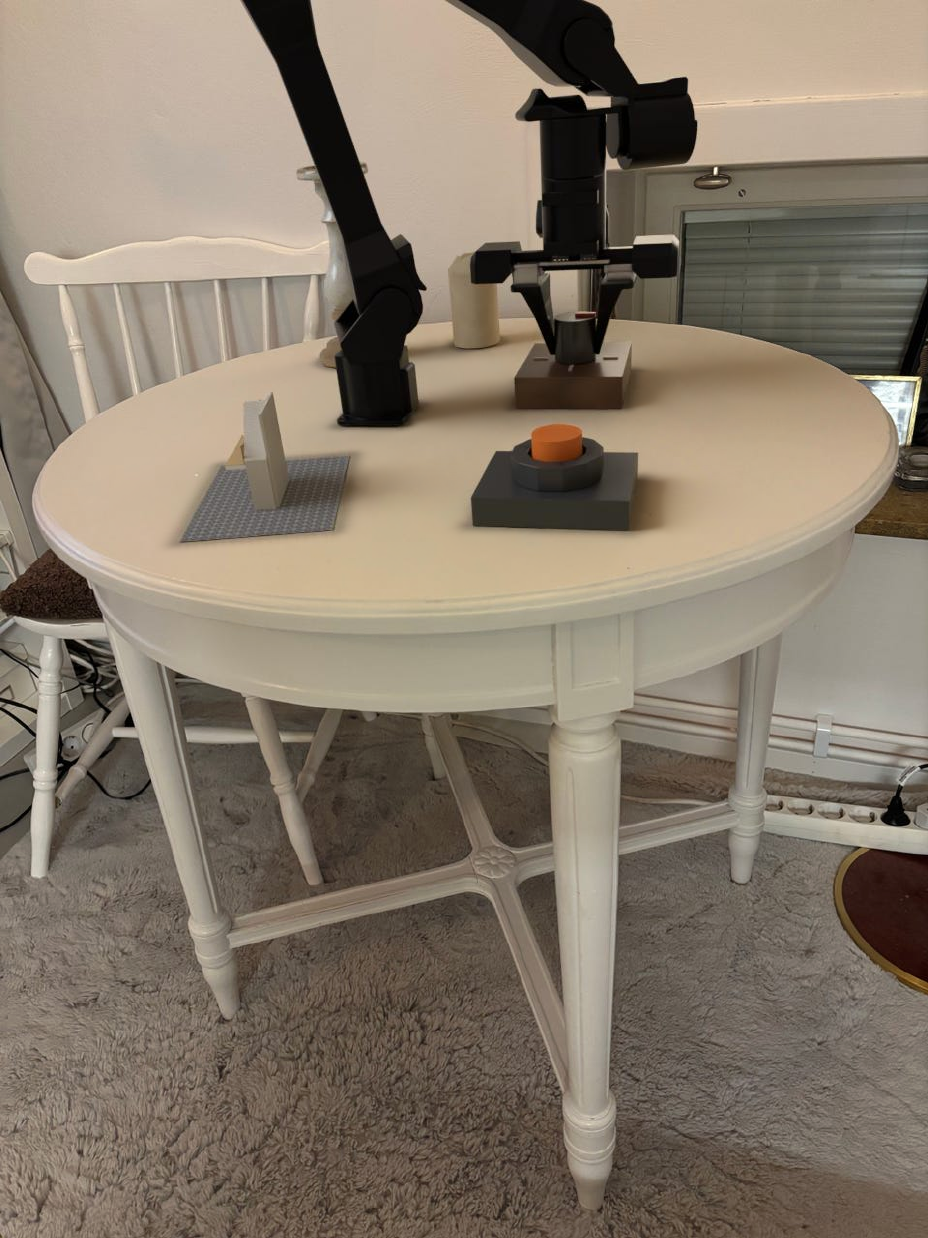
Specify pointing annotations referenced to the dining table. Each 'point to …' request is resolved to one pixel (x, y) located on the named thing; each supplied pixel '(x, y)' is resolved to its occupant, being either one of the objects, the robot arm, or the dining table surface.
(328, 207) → the candle holder
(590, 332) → the knob
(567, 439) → the spray button
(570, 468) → the push button base
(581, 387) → the panel
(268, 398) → the architectural model
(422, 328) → the dining table surface
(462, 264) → the candle
